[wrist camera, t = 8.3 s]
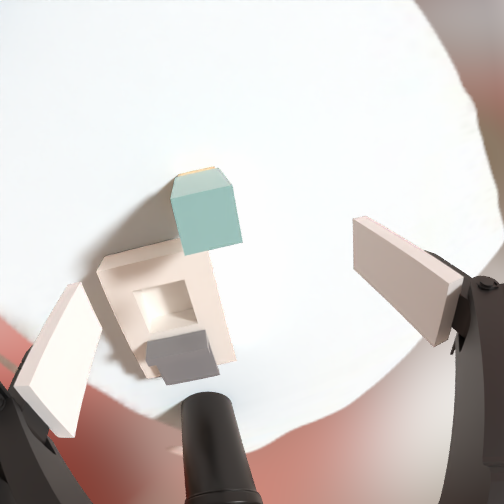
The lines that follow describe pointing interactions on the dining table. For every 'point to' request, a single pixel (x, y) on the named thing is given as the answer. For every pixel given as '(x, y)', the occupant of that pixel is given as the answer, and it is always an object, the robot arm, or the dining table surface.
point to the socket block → (165, 298)
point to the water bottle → (214, 453)
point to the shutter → (182, 357)
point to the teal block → (205, 210)
